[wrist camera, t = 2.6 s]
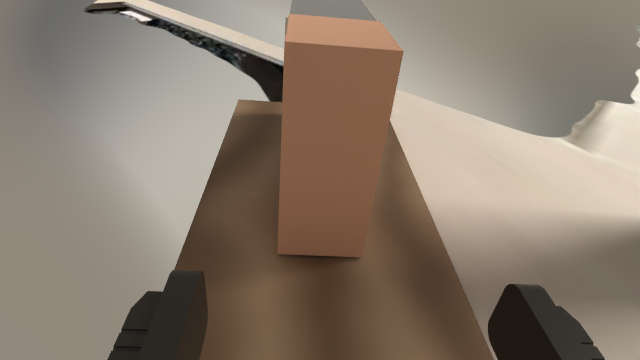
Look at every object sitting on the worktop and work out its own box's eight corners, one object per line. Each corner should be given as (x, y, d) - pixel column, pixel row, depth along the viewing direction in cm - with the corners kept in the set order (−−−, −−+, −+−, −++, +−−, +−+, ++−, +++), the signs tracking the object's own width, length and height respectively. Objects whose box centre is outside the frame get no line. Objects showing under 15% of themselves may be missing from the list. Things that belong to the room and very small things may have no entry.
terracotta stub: (351, 197, 28) (380, 21, 21) (362, 257, 23) (403, 51, 16) (282, 194, 28) (289, 13, 21) (277, 254, 23) (284, 41, 16)
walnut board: (382, 121, 44) (385, 109, 43) (504, 430, 17) (516, 412, 16) (239, 112, 43) (238, 99, 42) (128, 427, 16) (121, 408, 15)
